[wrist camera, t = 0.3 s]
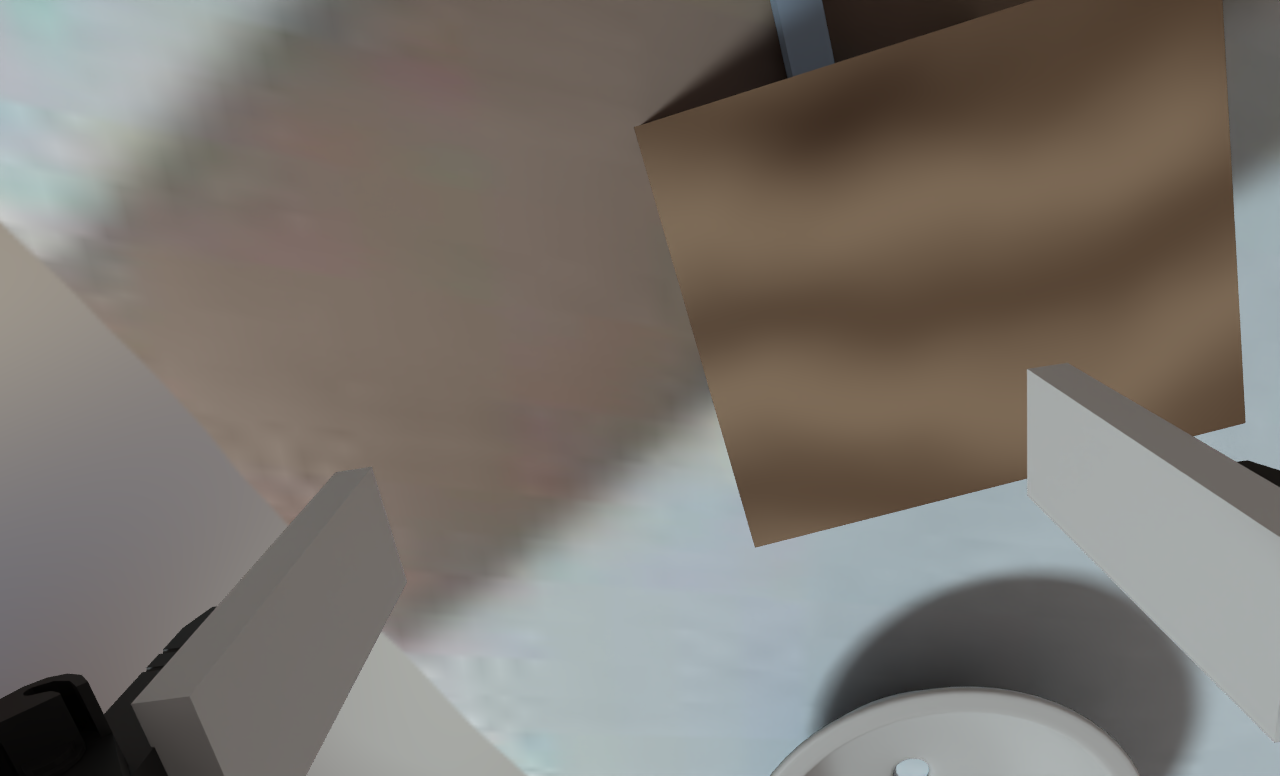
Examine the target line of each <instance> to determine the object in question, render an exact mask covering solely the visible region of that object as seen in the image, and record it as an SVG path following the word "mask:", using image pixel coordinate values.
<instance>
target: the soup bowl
mask: <svg viewBox="0 0 1280 776" xmlns="http://www.w3.org/2000/svg"><path fill="white" fill-rule="evenodd" d="M907 759H920V760H923V761H925V762H926V763H927V764H928V767H929V772H928V775H927V776H1140V774H1139V772H1138V770H1137V768H1136V767H1135V765H1134V763H1133V762H1132V760H1131V759H1130V757H1129V756H1128V755H1127V753H1126V752H1125V751H1124V750H1123V749H1122V748H1121V746H1120V745H1119V744H1118V743H1117V742H1116V741H1115V740H1114V739H1113V738H1112V737H1111V736H1109V735H1108V734H1107V733H1106V732H1105V731H1104V730H1102V729H1101V728H1100V727H1098V726H1097V725H1096V724H1094V723H1093V722H1092V721H1090V720H1089V719H1087V718H1085V717H1084V716H1082V715H1080V714H1079V713H1077V712H1075V711H1073V710H1071V709H1069V708H1067V707H1065V706H1062V705H1060V704H1058V703H1056V702H1053V701H1050V700H1047V699H1044V698H1041V697H1038V696H1035V695H1031V694H1027V693H1023V692H1018V691H1013V690H1006V689H1000V688H990V687H975V686H973V687H945V688H934V689H927V690H917V691H911V692H905V693H900V694H896V695H892V696H888V697H884V698H882V699H879V700H876V701H873V702H870V703H868V704H866V705H863V706H861V707H859V708H857V709H855V710H853V711H851V712H849V713H847V714H845V715H844V716H842V717H841V718H839V719H837V720H835V721H833V722H831V723H830V724H828V725H826V726H825V727H823V728H822V729H820V730H819V731H817V732H816V733H814V734H813V735H811V736H810V737H809V738H808V739H806V740H805V741H804V742H802V743H801V744H800V745H799V746H797V747H796V748H795V749H794V750H793V751H792V752H791V753H790V754H789V755H788V756H787V757H786V758H785V759H784V760H783V761H782V762H781V763H780V764H779V766H778V767H777V768H776V769H775V770H774V771H773V772H772V774H771V775H770V776H893V771H894V769H895V767H896V766H897V765H898V764H899V763H900V762H902V761H904V760H907Z"/></svg>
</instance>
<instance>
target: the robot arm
mask: <svg viewBox="0 0 1280 776" xmlns="http://www.w3.org/2000/svg"><path fill="white" fill-rule="evenodd" d="M1027 496H1028V497H1029V498H1030V499H1031V500H1032V501H1033V502H1034V503H1035V504H1036V505H1037V506H1038V507H1039V508H1040V509H1041V510H1042V511H1043V512H1044V513H1045V514H1046V515H1047V516H1048V517H1049V518H1050V519H1051V520H1052V521H1053V522H1054V523H1055V524H1056V525H1057V526H1058V527H1059V528H1060V529H1061V530H1062V531H1063V532H1064V533H1065V534H1066V535H1067V536H1068V537H1069V538H1070V539H1071V540H1072V541H1073V542H1074V543H1075V544H1076V545H1077V546H1078V547H1079V548H1080V549H1081V550H1082V551H1083V552H1084V553H1085V554H1086V555H1087V556H1088V557H1089V558H1090V559H1091V560H1092V561H1093V562H1094V563H1095V564H1096V565H1097V566H1098V567H1099V568H1100V569H1101V570H1102V571H1103V572H1104V573H1105V574H1106V575H1107V576H1108V577H1109V578H1110V579H1111V580H1112V581H1113V582H1114V583H1115V584H1116V585H1117V586H1118V587H1119V588H1120V589H1121V590H1122V591H1123V592H1124V593H1125V594H1126V595H1127V596H1128V597H1129V598H1130V599H1131V600H1132V601H1133V602H1134V603H1135V604H1136V605H1137V606H1138V607H1139V608H1140V609H1141V610H1142V611H1143V612H1144V613H1145V614H1146V615H1147V616H1148V617H1149V618H1150V619H1151V620H1152V621H1153V622H1154V623H1155V624H1156V625H1157V626H1158V627H1159V628H1160V629H1161V630H1162V631H1163V632H1164V633H1165V634H1166V635H1167V636H1168V637H1169V638H1170V639H1171V640H1172V641H1173V642H1174V643H1175V644H1176V645H1177V646H1178V647H1179V648H1180V649H1181V650H1182V651H1183V652H1184V653H1185V654H1186V655H1187V656H1188V657H1189V658H1190V659H1191V660H1192V661H1193V662H1194V663H1195V664H1196V665H1197V666H1198V667H1199V668H1200V669H1201V670H1202V671H1203V672H1204V673H1205V674H1206V675H1207V676H1208V677H1209V678H1210V679H1211V680H1212V681H1213V682H1214V683H1215V684H1216V685H1217V686H1218V687H1219V688H1220V689H1221V690H1222V691H1223V692H1224V693H1225V694H1226V695H1227V696H1228V697H1229V698H1230V699H1231V700H1232V701H1233V702H1234V703H1235V704H1236V705H1237V706H1238V707H1239V708H1240V709H1241V710H1242V711H1243V712H1244V713H1245V714H1246V715H1247V716H1248V717H1249V718H1250V719H1251V720H1252V721H1253V722H1254V723H1255V724H1256V725H1257V726H1258V727H1259V728H1260V729H1261V730H1262V731H1263V732H1264V733H1265V734H1266V735H1267V736H1268V737H1269V738H1270V739H1271V740H1272V741H1273V742H1274V743H1275V742H1280V470H1276V469H1273V468H1270V467H1267V466H1264V465H1261V464H1257V463H1254V462H1251V461H1248V460H1247V461H1240V462H1236V461H1234V460H1232V459H1230V458H1229V457H1227V456H1225V455H1224V454H1222V453H1220V452H1219V451H1217V450H1215V449H1213V448H1212V447H1210V446H1208V445H1207V444H1205V443H1203V442H1202V441H1200V440H1198V439H1196V438H1195V437H1193V436H1191V435H1190V434H1188V433H1186V432H1184V431H1183V430H1181V429H1179V428H1178V427H1176V426H1174V425H1173V424H1171V423H1169V422H1167V421H1166V420H1164V419H1162V418H1161V417H1159V416H1157V415H1156V414H1154V413H1152V412H1150V411H1149V410H1147V409H1145V408H1144V407H1142V406H1140V405H1138V404H1137V403H1135V402H1133V401H1132V400H1130V399H1128V398H1127V397H1125V396H1123V395H1121V394H1120V393H1118V392H1116V391H1115V390H1113V389H1111V388H1109V387H1108V386H1106V385H1104V384H1103V383H1101V382H1099V381H1098V380H1096V379H1094V378H1092V377H1091V376H1089V375H1087V374H1086V373H1084V372H1082V371H1081V370H1079V369H1077V368H1075V367H1074V366H1072V365H1070V364H1069V363H1063V364H1057V365H1050V366H1043V367H1037V368H1030V369H1027ZM406 583H407V580H406V577H405V574H404V570H403V567H402V564H401V561H400V557H399V554H398V551H397V547H396V544H395V541H394V538H393V534H392V531H391V528H390V525H389V521H388V518H387V515H386V512H385V508H384V505H383V502H382V499H381V495H380V492H379V489H378V485H377V482H376V479H375V476H374V472H373V469H372V467H368V468H361V469H355V470H348V471H341V472H336V473H335V474H334V475H333V476H332V477H331V478H330V479H329V481H328V482H327V483H326V484H325V485H324V486H323V487H322V488H321V490H320V491H319V492H318V493H317V494H316V495H315V496H314V497H313V499H312V500H311V501H310V502H309V503H308V504H307V505H306V507H305V508H304V509H303V510H302V511H301V512H300V513H299V514H298V516H297V517H296V518H295V519H294V520H293V521H292V522H291V523H290V525H289V526H288V527H287V528H286V529H285V530H284V531H283V533H282V534H281V535H280V536H279V537H278V538H277V539H276V540H275V542H274V543H273V544H272V545H271V546H270V547H269V548H268V550H267V551H266V552H265V553H264V554H263V555H262V556H261V558H260V559H259V560H258V561H257V562H256V563H255V564H254V565H253V566H252V568H251V569H250V570H249V571H248V572H247V573H246V574H245V576H244V577H243V578H242V579H241V580H240V581H239V582H238V584H237V585H236V586H235V587H234V588H233V589H232V590H231V592H230V593H229V594H228V595H227V596H226V597H225V598H224V599H223V600H222V602H221V603H220V604H219V605H218V606H217V607H212V608H210V609H209V610H208V611H206V612H205V613H203V614H202V615H200V616H199V617H198V618H196V619H195V620H193V621H192V622H191V623H189V624H188V625H186V626H185V627H184V628H182V630H181V631H180V632H179V633H178V634H177V635H176V636H175V637H174V638H173V639H172V640H171V642H170V643H169V644H168V645H167V646H166V647H165V648H164V649H163V654H159V655H158V656H157V657H156V658H155V659H154V660H153V661H152V662H151V663H150V665H149V666H148V667H147V671H146V672H143V673H141V674H140V675H139V677H138V678H137V679H136V680H135V681H134V682H133V683H132V684H131V685H130V686H129V687H128V689H127V690H126V691H125V692H124V693H123V694H122V695H121V696H120V697H119V698H118V700H117V701H116V702H115V703H114V704H113V705H112V706H111V707H110V708H109V709H108V711H107V712H106V713H105V714H103V712H102V710H101V708H100V706H99V704H98V702H97V700H96V698H95V696H94V694H93V691H92V690H91V687H90V685H89V683H88V681H87V680H86V679H85V678H84V677H83V676H82V675H76V674H63V675H59V676H53V677H48V678H45V679H43V680H40V681H37V682H35V683H32V684H30V685H27V686H24V687H22V688H20V689H18V690H16V691H14V692H13V693H11V694H9V695H7V696H5V697H3V698H1V699H0V776H306V774H307V773H308V771H309V769H310V767H311V765H312V763H313V761H314V759H315V757H316V755H317V753H318V751H319V750H320V748H321V746H322V744H323V742H324V740H325V738H326V736H327V734H328V732H329V730H330V729H331V726H332V724H333V723H334V721H335V719H336V717H337V715H338V713H339V711H340V709H341V707H342V705H343V704H344V702H345V700H346V698H347V696H348V694H349V692H350V690H351V688H352V686H353V684H354V683H355V681H356V679H357V677H358V675H359V673H360V671H361V669H362V667H363V665H364V663H365V661H366V659H367V658H368V656H369V654H370V652H371V650H372V648H373V646H374V644H375V642H376V640H377V638H378V637H379V635H380V633H381V631H382V629H383V627H384V625H385V623H386V621H387V619H388V617H389V616H390V614H391V612H392V610H393V608H394V606H395V604H396V602H397V600H398V598H399V596H400V594H401V593H402V591H403V589H404V587H405V585H406Z"/></svg>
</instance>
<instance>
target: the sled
mask: <svg viewBox="0 0 1280 776" xmlns="http://www.w3.org/2000/svg"><path fill="white" fill-rule="evenodd" d="M770 2H771V6H772V11H773V15H774V20H775V24H776V29H777V33H778V38H779V42H780V47H781V51H782V56H783V60H784V65H785V69H786V73H787V78H790V77H793V76H796V75H800V74H803V73H806V72H809V71H812V70H815V69H818V68H822V67H825V66H828V65H831V64H834V63H835V62H834V57H833V52H832V47H831V42H830V38H829V33H828V28H827V23H826V18H825V13H824V8H823V3H822V0H770Z"/></svg>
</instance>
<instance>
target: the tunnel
mask: <svg viewBox="0 0 1280 776" xmlns="http://www.w3.org/2000/svg"><path fill="white" fill-rule="evenodd" d="M634 129H635V133H636V136H637V140H638V143H639V147H640V150H641V154H642V157H643V161H644V164H645V167H646V171H647V174H648V178H649V181H650V185H651V188H652V192H653V195H654V199H655V202H656V206H657V209H658V213H659V216H660V220H661V223H662V226H663V230H664V233H665V237H666V240H667V244H668V247H669V251H670V254H671V258H672V261H673V265H674V268H675V272H676V275H677V278H678V282H679V285H680V289H681V292H682V296H683V299H684V303H685V306H686V310H687V313H688V317H689V320H690V324H691V327H692V330H693V334H694V337H695V341H696V344H697V348H698V351H699V355H700V358H701V362H702V365H703V369H704V372H705V376H706V379H707V382H708V386H709V389H710V393H711V396H712V400H713V403H714V407H715V410H716V414H717V417H718V421H719V424H720V428H721V431H722V435H723V438H724V441H725V445H726V448H727V452H728V455H729V459H730V462H731V466H732V469H733V473H734V476H735V480H736V483H737V487H738V490H739V493H740V497H741V500H742V504H743V507H744V511H745V514H746V518H747V521H748V525H749V528H750V532H751V535H752V539H753V542H754V545H755V547H759V546H763V545H767V544H771V543H775V542H779V541H783V540H787V539H791V538H795V537H799V536H803V535H806V534H810V533H814V532H818V531H822V530H826V529H830V528H834V527H838V526H842V525H846V524H850V523H854V522H858V521H862V520H865V519H869V518H873V517H877V516H881V515H885V514H889V513H893V512H897V511H901V510H905V509H909V508H913V507H917V506H921V505H924V504H928V503H932V502H936V501H940V500H944V499H948V498H952V497H956V496H960V495H964V494H968V493H972V492H976V491H980V490H984V489H987V488H991V487H995V486H999V485H1003V484H1007V483H1011V482H1015V481H1019V480H1023V479H1027V369H1030V368H1037V367H1043V366H1050V365H1057V364H1063V363H1069V364H1070V365H1072V366H1074V367H1075V368H1077V369H1079V370H1081V371H1082V372H1084V373H1086V374H1087V375H1089V376H1091V377H1092V378H1094V379H1096V380H1098V381H1099V382H1101V383H1103V384H1104V385H1106V386H1108V387H1109V388H1111V389H1113V390H1115V391H1116V392H1118V393H1120V394H1121V395H1123V396H1125V397H1127V398H1128V399H1130V400H1132V401H1133V402H1135V403H1137V404H1138V405H1140V406H1142V407H1144V408H1145V409H1147V410H1149V411H1150V412H1152V413H1154V414H1156V415H1157V416H1159V417H1161V418H1162V419H1164V420H1166V421H1167V422H1169V423H1171V424H1173V425H1174V426H1176V427H1178V428H1179V429H1181V430H1183V431H1184V432H1186V433H1188V434H1190V435H1191V436H1196V435H1200V434H1204V433H1208V432H1212V431H1216V430H1220V429H1223V428H1227V427H1231V426H1235V425H1239V424H1243V423H1245V405H1244V386H1243V368H1242V350H1241V331H1240V313H1239V295H1238V276H1237V258H1236V240H1235V221H1234V203H1233V185H1232V166H1231V148H1230V130H1229V112H1228V93H1227V75H1226V57H1225V38H1224V20H1223V2H1222V0H1032V1H1029V2H1026V3H1022V4H1019V5H1016V6H1013V7H1010V8H1007V9H1004V10H1000V11H997V12H994V13H991V14H988V15H985V16H982V17H978V18H975V19H972V20H969V21H966V22H963V23H960V24H956V25H953V26H950V27H947V28H944V29H941V30H938V31H934V32H931V33H928V34H925V35H922V36H919V37H916V38H913V39H909V40H906V41H903V42H900V43H897V44H894V45H891V46H887V47H884V48H881V49H878V50H875V51H872V52H869V53H865V54H862V55H859V56H856V57H853V58H850V59H847V60H843V61H840V62H837V63H834V64H831V65H828V66H825V67H822V68H818V69H815V70H812V71H809V72H806V73H803V74H800V75H796V76H793V77H790V78H787V79H784V80H781V81H778V82H774V83H771V84H768V85H765V86H762V87H759V88H756V89H752V90H749V91H746V92H743V93H740V94H737V95H734V96H730V97H727V98H724V99H721V100H718V101H715V102H712V103H709V104H705V105H702V106H699V107H696V108H693V109H690V110H687V111H683V112H680V113H677V114H674V115H671V116H668V117H665V118H661V119H658V120H655V121H652V122H649V123H646V124H643V125H639V126H636V127H634Z"/></svg>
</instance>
